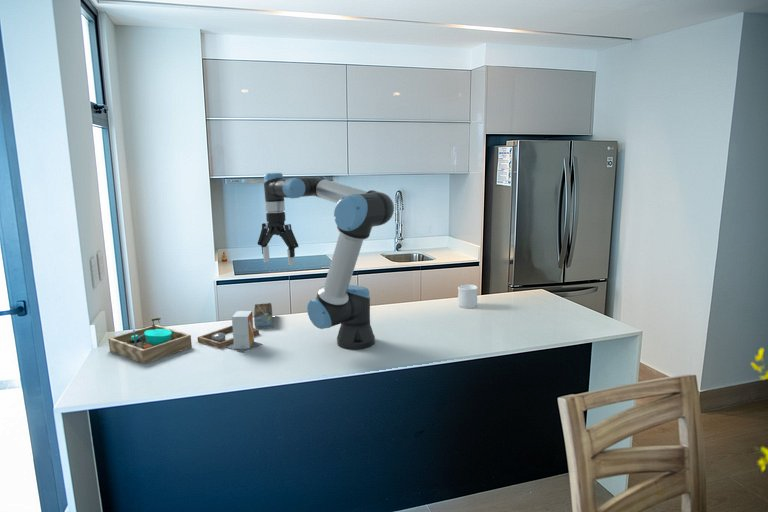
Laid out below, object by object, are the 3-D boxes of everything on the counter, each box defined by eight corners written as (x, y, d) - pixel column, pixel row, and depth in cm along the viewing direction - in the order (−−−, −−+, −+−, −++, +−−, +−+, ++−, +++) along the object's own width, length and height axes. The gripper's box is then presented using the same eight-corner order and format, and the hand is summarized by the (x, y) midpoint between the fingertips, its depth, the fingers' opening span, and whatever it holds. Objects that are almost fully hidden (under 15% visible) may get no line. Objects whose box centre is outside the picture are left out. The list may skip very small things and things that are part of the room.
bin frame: (259, 334, 221) (258, 329, 221) (220, 348, 205) (219, 343, 205) (237, 328, 229) (236, 323, 229) (197, 341, 213) (197, 337, 212)
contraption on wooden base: (125, 347, 208) (120, 311, 205) (174, 338, 216) (169, 303, 213) (127, 360, 196) (121, 322, 193) (178, 350, 204) (173, 313, 201)
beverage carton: (254, 329, 227) (253, 315, 226) (255, 316, 246) (254, 303, 245) (272, 328, 229) (272, 313, 228) (272, 315, 248) (271, 301, 246)
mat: (262, 344, 208) (262, 343, 208) (242, 352, 200) (242, 351, 200) (245, 340, 214) (245, 339, 214) (225, 347, 206) (225, 346, 206)
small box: (250, 348, 203) (247, 316, 201) (233, 349, 203) (231, 317, 201) (254, 341, 211) (252, 310, 209) (238, 341, 211) (236, 310, 209)
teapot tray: (191, 347, 207) (190, 335, 206) (144, 363, 191) (142, 350, 190) (156, 335, 221) (155, 324, 220) (109, 350, 205) (108, 338, 204)
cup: (457, 308, 253) (457, 289, 251) (458, 302, 263) (458, 283, 261) (477, 309, 252) (477, 289, 250) (477, 303, 261) (477, 284, 259)
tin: (228, 341, 214) (227, 334, 213) (217, 344, 210) (217, 337, 209) (220, 338, 216) (219, 331, 216) (210, 342, 212) (209, 335, 212)
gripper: (305, 211, 207) (308, 264, 211) (260, 210, 220) (263, 259, 224) (292, 213, 201) (295, 268, 204) (246, 211, 214) (250, 262, 218)
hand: (278, 263), depth 214 cm, fingers open, 13 cm apart
